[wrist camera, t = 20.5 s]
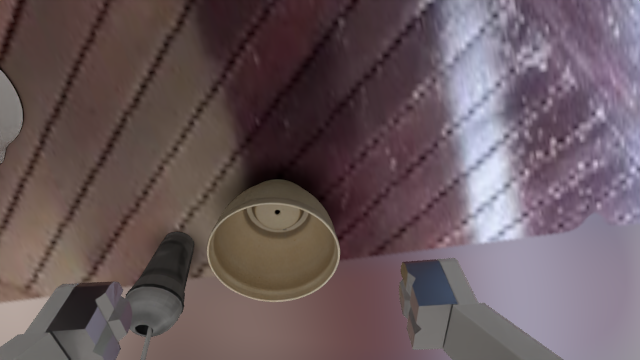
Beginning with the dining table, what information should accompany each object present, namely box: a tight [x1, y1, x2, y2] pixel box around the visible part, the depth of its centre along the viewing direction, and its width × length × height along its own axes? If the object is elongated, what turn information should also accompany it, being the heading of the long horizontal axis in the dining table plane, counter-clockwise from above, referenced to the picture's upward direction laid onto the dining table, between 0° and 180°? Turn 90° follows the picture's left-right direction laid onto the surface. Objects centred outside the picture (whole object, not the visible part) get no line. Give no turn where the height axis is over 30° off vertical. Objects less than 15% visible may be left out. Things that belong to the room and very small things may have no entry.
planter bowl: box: [207, 179, 340, 302], centre depth 51 cm, size 16×16×11 cm
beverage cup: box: [125, 232, 194, 360], centre depth 50 cm, size 7×7×20 cm
